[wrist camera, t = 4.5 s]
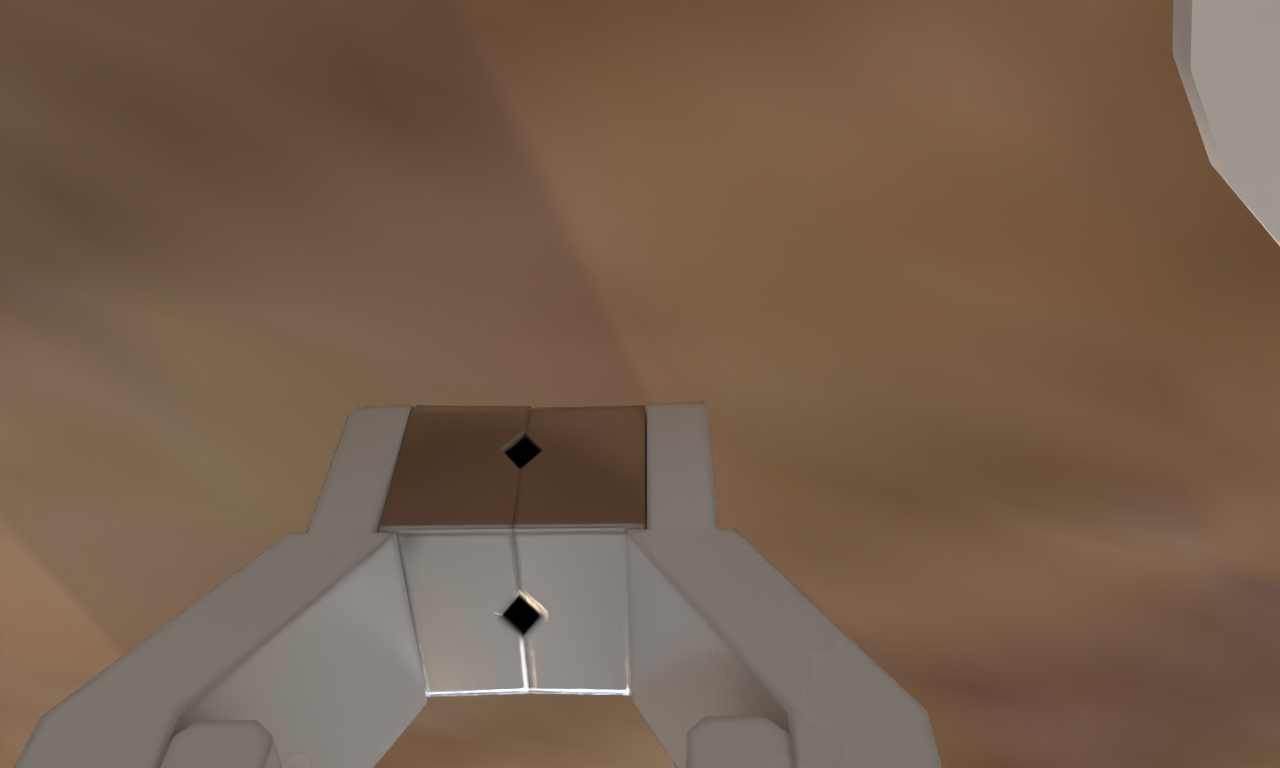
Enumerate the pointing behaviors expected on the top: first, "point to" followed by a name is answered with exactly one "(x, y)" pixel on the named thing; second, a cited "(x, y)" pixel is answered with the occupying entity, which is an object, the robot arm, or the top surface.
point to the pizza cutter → (1235, 93)
